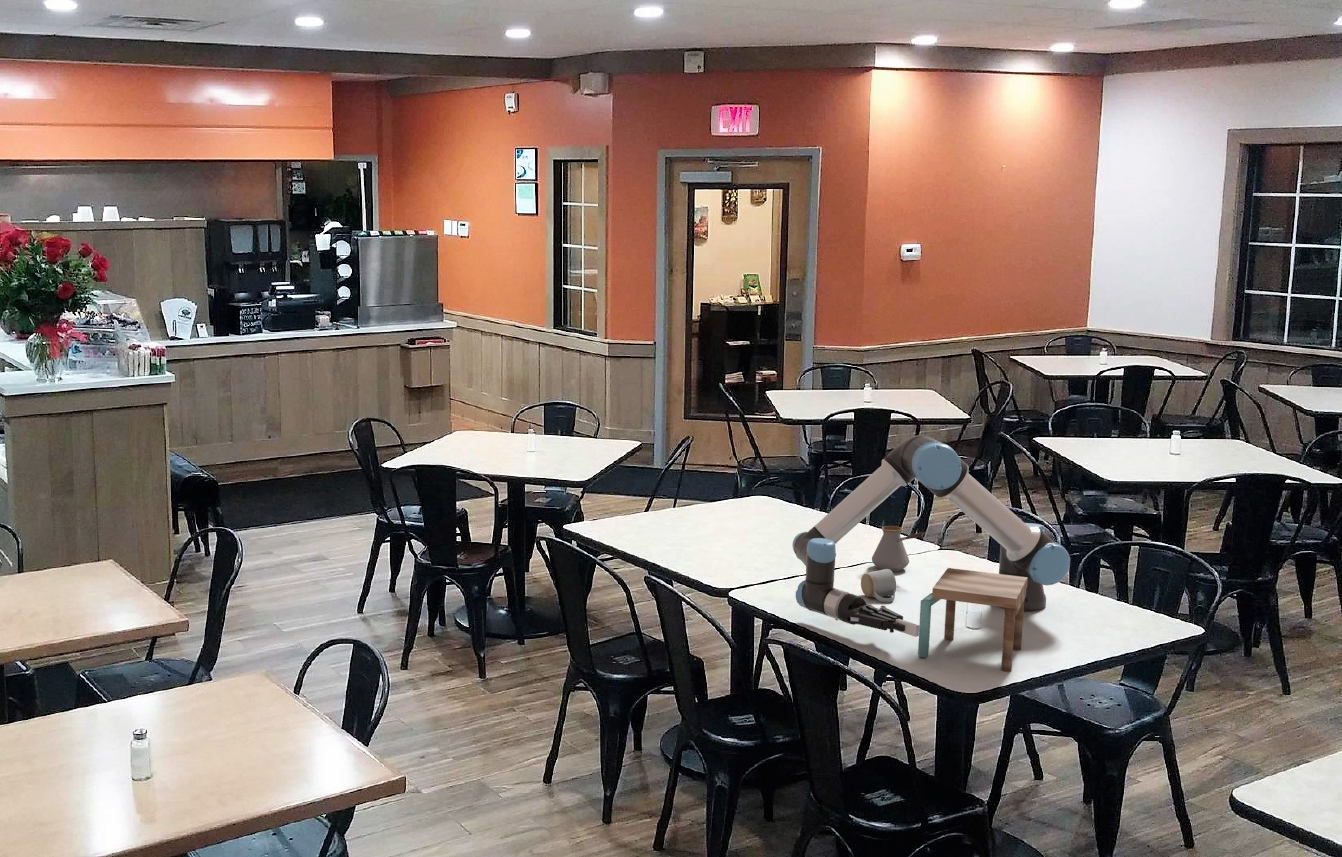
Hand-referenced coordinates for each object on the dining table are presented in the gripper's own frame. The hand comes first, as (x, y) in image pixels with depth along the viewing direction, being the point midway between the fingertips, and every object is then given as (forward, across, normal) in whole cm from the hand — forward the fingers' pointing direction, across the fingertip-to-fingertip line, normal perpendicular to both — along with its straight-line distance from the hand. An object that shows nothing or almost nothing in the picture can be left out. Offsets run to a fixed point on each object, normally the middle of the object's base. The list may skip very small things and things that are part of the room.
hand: (917, 631), depth 319 cm
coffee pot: (-52, -57, -7) cm, 78 cm away
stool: (+8, -15, -7) cm, 18 cm away
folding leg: (-1, -8, -6) cm, 10 cm away
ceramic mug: (-39, -32, -7) cm, 51 cm away
